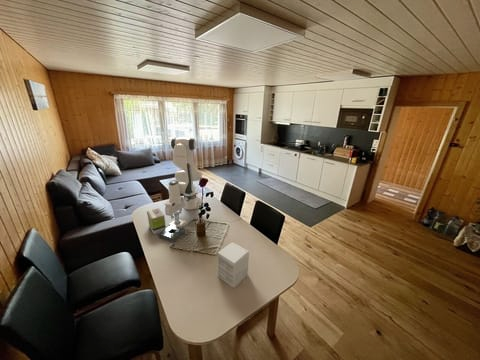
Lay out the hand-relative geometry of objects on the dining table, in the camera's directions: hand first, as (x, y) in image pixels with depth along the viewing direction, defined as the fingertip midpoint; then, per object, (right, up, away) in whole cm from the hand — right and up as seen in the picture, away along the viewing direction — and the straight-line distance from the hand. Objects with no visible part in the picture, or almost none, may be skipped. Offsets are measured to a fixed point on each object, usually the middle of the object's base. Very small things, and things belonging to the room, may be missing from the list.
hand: (176, 215), depth 162 cm
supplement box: (+49, -28, -45) cm, 72 cm away
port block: (0, -14, -10) cm, 17 cm away
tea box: (-15, -11, -1) cm, 19 cm away
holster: (0, -9, +4) cm, 10 cm away
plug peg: (0, -9, +4) cm, 10 cm away
